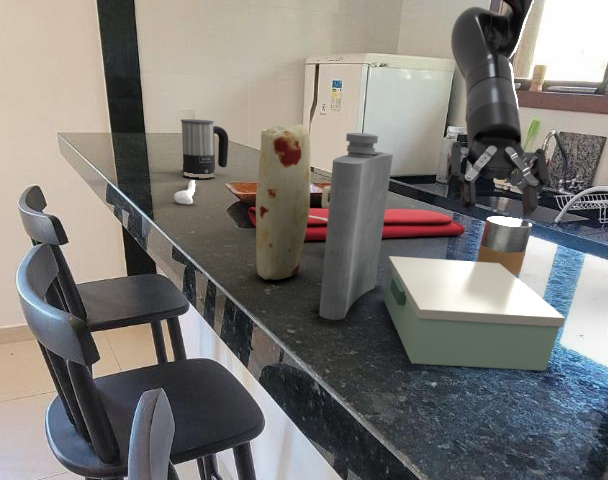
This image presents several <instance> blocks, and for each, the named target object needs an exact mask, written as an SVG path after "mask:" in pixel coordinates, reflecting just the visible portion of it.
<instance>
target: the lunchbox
mask: <svg viewBox="0 0 608 480" xmlns="http://www.w3.org/2000/svg"><path fill="white" fill-rule="evenodd" d="M387 265H388V270H387V277H386V283H385V284H386V285H385V290H384V297H383V302H384V304H385V307H386V309H387V312H388V314H389V316H390V317H391V318H390V319H391V321H392V323H393V326H394V327H395V330H396V331H397V334H398V337H399V339H400V341H401V343H402V345H403V348H404V350H405V353H406V355H407V357H408V360H409V361H410V363H411V364H413V365H428V366H429V365H430V366H447V367H468V368H487V369H502V370H503V369H504V370H520V371H523V370H524V371H540V372H546V371H547V367H548V364H549V362H550V358H551V355H552V352H553V349H554V346H555V342H556V339H557V336H558V333H559V331H560V328H563V327H564V324H565V321H566V317H565V316H564V315H562V313H560V312H559V311H558V310H556V309H555V308H554V307H553V306H552V305H550V304H549V303H548V302H546V301H545V300H544V298H542V297H541V296H540V295H538V294H537V293H536V292H535V291H534V290H532V288H530V287H529V286H527V285H526V283H524V282H522V281H521V280H520V279H519V277H518V278H516V277H515V276H514V275H513V274H512V273H510V272H509V271H508V270H507V269H506V268H504V267H503V266H502V265H501V264H500V263H487V262H476V261H471V260H470V261H469V260H455V259H442V258H427V257H426V258H424V257H409V256H394V255H391V256H390V255H388V257H387Z"/></svg>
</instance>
